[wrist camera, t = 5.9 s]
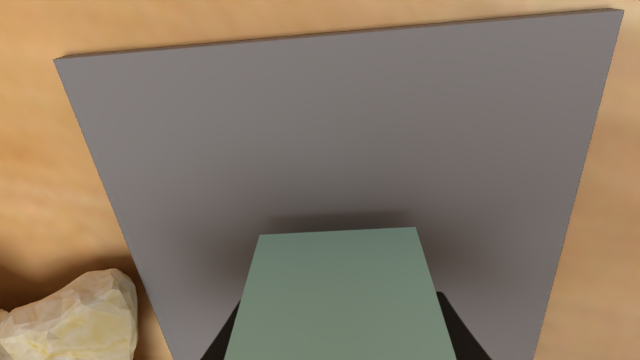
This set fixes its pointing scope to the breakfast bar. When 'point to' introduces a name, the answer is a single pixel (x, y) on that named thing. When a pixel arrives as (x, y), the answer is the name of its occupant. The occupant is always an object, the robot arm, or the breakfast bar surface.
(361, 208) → the mat
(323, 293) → the block
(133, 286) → the conch shell
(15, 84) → the breakfast bar surface
